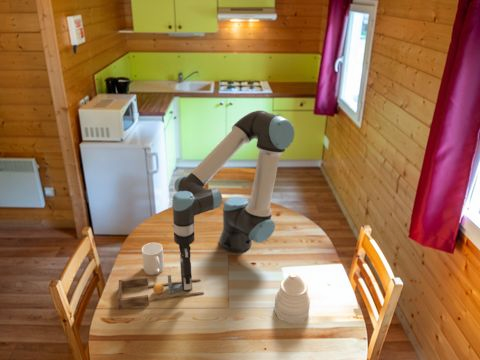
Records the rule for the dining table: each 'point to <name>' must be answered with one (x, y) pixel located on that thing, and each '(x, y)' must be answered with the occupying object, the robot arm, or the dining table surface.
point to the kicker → (180, 286)
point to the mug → (153, 258)
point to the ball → (158, 288)
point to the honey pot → (292, 299)
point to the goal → (132, 300)
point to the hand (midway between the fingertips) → (185, 277)
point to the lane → (175, 295)
